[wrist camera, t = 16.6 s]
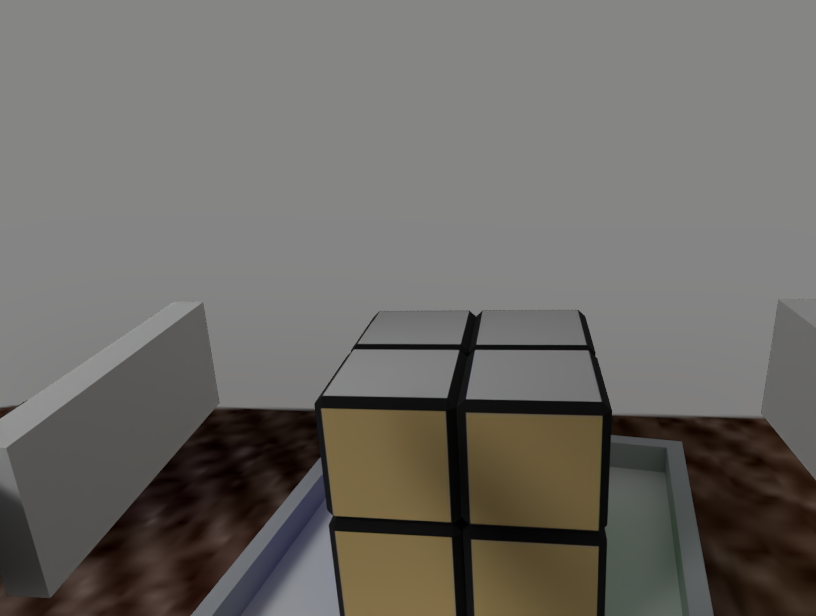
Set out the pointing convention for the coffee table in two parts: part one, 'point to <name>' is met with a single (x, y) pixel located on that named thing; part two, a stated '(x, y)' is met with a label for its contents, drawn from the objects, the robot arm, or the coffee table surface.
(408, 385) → the puzzle cube
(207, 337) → the robot arm
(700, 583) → the shallow square tray
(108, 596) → the coffee table surface
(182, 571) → the coffee table surface
